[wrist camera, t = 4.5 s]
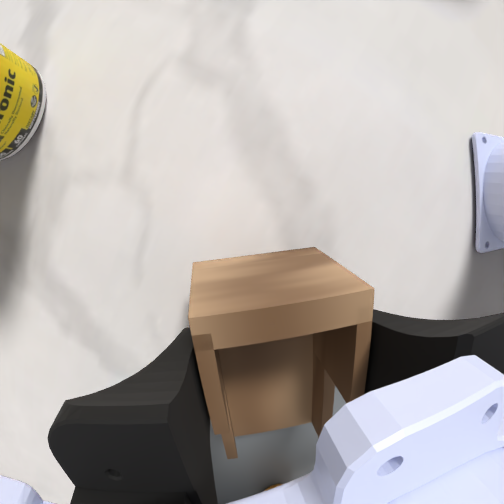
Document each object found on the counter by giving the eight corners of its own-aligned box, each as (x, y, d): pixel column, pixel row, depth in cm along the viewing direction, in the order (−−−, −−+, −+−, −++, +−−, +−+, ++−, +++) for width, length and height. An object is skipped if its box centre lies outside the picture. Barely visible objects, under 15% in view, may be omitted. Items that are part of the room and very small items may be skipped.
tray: (412, 334, 17) (445, 359, 14) (383, 466, 20) (401, 492, 17) (121, 384, 15) (107, 423, 12) (177, 508, 18) (177, 541, 15)
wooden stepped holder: (314, 246, 13) (374, 288, 8) (314, 408, 15) (348, 475, 10) (192, 262, 12) (187, 318, 8) (223, 425, 15) (233, 500, 10)
